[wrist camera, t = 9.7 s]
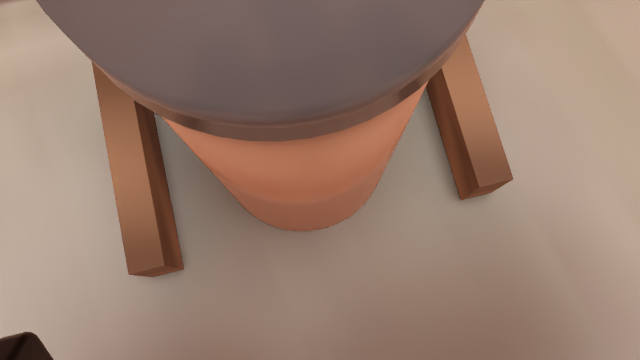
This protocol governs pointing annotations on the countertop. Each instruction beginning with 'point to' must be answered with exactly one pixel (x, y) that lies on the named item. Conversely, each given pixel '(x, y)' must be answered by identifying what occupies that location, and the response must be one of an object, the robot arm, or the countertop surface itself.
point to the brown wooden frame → (151, 185)
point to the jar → (276, 86)
